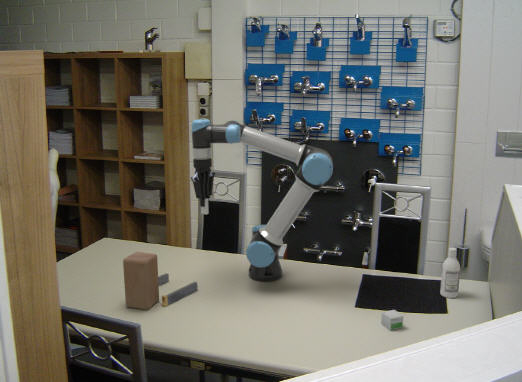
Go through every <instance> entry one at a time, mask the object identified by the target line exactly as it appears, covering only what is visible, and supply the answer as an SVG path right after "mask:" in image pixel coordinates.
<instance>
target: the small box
mask: <svg viewBox="0 0 522 382" xmlns="http://www.w3.org/2000/svg"><path fill="white" fill-rule="evenodd" d="M380 323H381V325H382V326H383V327H385V328H386V329H387V330H389V331H394V330H398V329H402V328H403V327H404V326H403V325H404V324H403V323H404V315H403V314H402V313H400V312H398V311H397V310H396V309H392V310H386V311H382V312H381V322H380Z"/></svg>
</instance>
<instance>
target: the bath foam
mask: <svg viewBox="0 0 522 382" xmlns="http://www.w3.org/2000/svg"><path fill="white" fill-rule="evenodd" d="M447 255H448V257H447V258H446V259H445V260H444V261H443V263H442V266H441V279H440V289H439V290H440V291H439V292H440V295H441V296H442V297H444V298H448V299H455V298H457V297H459V290H460V289H459V288H460V278H461V277H460V276H461V265H460V261H458V259H457V248H456V247H449V248H448V254H447Z"/></svg>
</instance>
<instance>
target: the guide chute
mask: <svg viewBox="0 0 522 382" xmlns="http://www.w3.org/2000/svg"><path fill="white" fill-rule="evenodd" d="M168 282H169V283H170V278H169V273H163V274H161V275H158V284H159V287H160V286H162V285H165V284H167V283H168ZM197 291H198V282H196V281H193V282H191V283H189V284H187V285H185V286H183V287H181V288H179V289H177V290H174V291H172V292H169V293H168V294H163V295H161V304H162V306H163V307H165V308H166V307H168V306H169V305H171V304H173V303H175V302H177V301H179V300H181V299H183V298H185V297H187V296H189V295H191V294H193V293H196V292H197Z"/></svg>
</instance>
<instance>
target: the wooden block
mask: <svg viewBox="0 0 522 382" xmlns="http://www.w3.org/2000/svg"><path fill="white" fill-rule="evenodd" d="M122 264H123V265H122V266H123V282H124V298H125V307H127V308H133V309H139V310H145V311H148V310H149V309H151V308H152V307H153V306H155V304H156V303H158V302H159V300H160V288H159V287H160V286H159V284H158V277H159V270H158V269H159V267H158V266H159V265H158V254H156V253H150V252H140V251H135V252H133V253H132V254H130V255H128V256H126V257H124V258H123V260H122Z"/></svg>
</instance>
